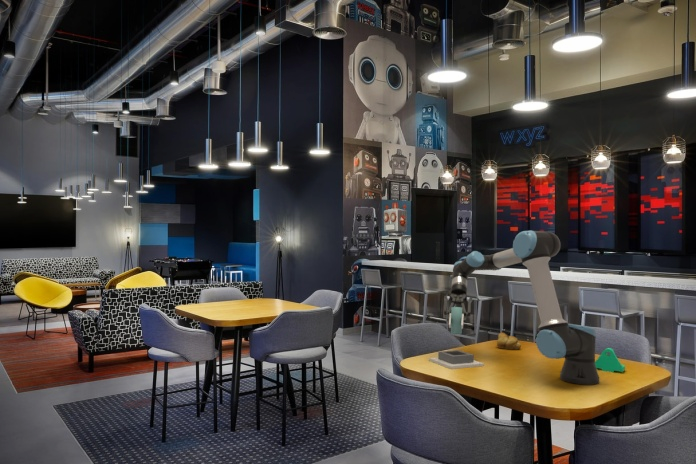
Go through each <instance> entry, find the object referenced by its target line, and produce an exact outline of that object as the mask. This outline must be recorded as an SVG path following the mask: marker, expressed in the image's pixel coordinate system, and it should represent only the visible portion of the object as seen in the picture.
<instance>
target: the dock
mask: <svg viewBox="0 0 696 464" xmlns="http://www.w3.org/2000/svg"><path fill="white" fill-rule="evenodd" d="M474 356H475V355H474V354H472V353H469V352H467V351H466V352H465V351H463V350H459V349H454V350H442V351H438V356H437V357H428V361H429V362H431V363H434V364H437V365H440V366H441V367H445V368H447V369H450V370H454V369H455V370H456V369H464V368H465V369H467V368H477V367H484V364H485V363H484V362H480V361H477V360H475V359H474V358H475V357H474Z"/></svg>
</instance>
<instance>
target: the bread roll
mask: <svg viewBox="0 0 696 464" xmlns="http://www.w3.org/2000/svg"><path fill="white" fill-rule="evenodd" d="M496 346H497V347H498V348H499V349H505V350H520V349H521V348H522V344H521V342H520V341H519V340H518V338H517V337H515V336H513V335H508V334H506V333H505V332H499V334H498V336H497V340H496Z"/></svg>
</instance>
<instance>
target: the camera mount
mask: <svg viewBox="0 0 696 464" xmlns="http://www.w3.org/2000/svg"><path fill="white" fill-rule="evenodd" d="M608 353H609V354H608ZM595 365H596V369H600V370H602V372H607V371H609V372H608V373H615V372H621V373H622V372H624V371H625V369H626V365H624V364H622V363H621V362H620V360H619V358H618V357H617V355H616V353H615V350H614V349H613V348H611V347H607V348H605V349H604V350H603V351H602V352H601V353H600V355H599V356H598V357H597V359H595ZM614 371H615V372H614Z"/></svg>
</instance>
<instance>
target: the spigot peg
mask: <svg viewBox="0 0 696 464" xmlns="http://www.w3.org/2000/svg"><path fill="white" fill-rule="evenodd" d="M462 314H463V311H462V307H461V306H454V307H451V328H450V333H451V334H452V335H462V334H463V329H461V321H462Z"/></svg>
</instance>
